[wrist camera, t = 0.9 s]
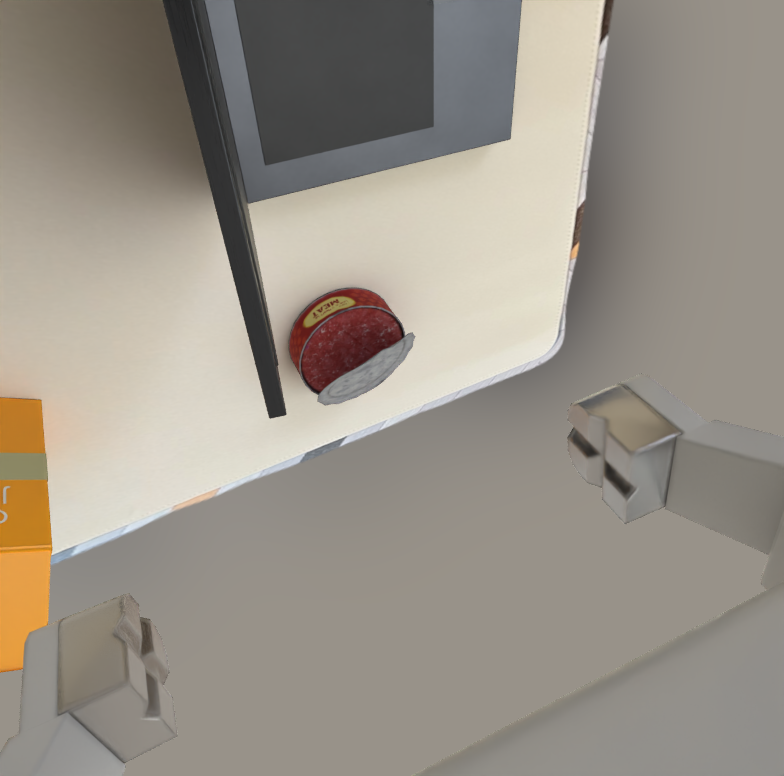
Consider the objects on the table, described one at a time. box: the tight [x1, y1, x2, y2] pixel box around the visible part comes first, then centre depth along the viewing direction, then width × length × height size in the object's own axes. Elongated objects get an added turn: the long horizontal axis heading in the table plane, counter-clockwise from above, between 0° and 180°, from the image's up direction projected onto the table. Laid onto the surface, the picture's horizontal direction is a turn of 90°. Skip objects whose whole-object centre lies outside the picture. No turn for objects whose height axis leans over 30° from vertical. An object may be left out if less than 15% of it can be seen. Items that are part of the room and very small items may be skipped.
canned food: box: [289, 288, 415, 405], centre depth 56 cm, size 11×10×10 cm
